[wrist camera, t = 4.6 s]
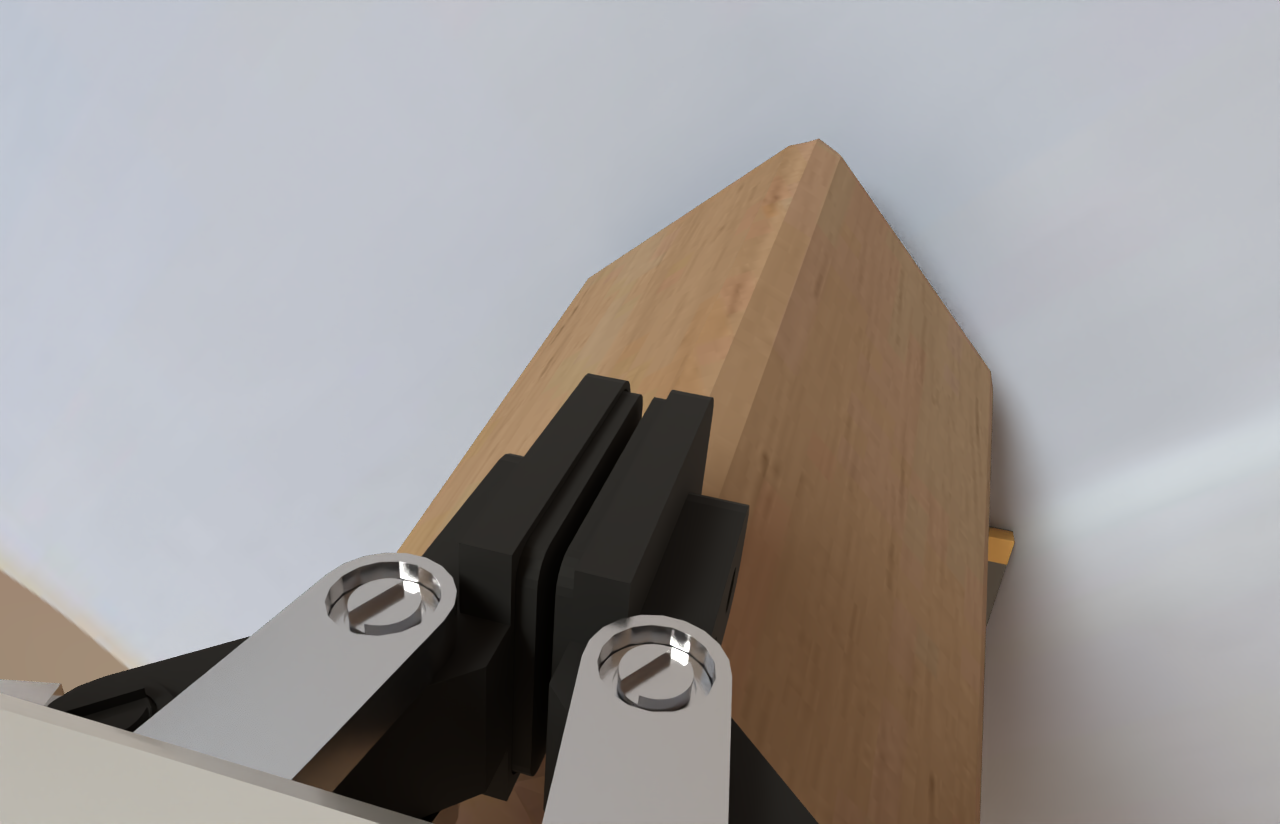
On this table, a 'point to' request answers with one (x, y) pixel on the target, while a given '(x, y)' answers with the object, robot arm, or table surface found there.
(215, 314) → the table surface
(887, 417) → the block
